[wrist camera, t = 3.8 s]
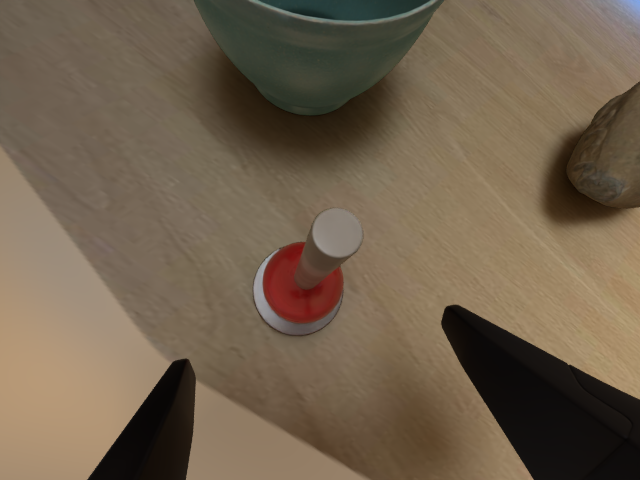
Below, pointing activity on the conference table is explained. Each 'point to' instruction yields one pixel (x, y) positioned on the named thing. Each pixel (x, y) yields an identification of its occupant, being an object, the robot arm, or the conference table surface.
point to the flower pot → (315, 45)
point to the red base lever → (308, 275)
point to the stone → (610, 154)
